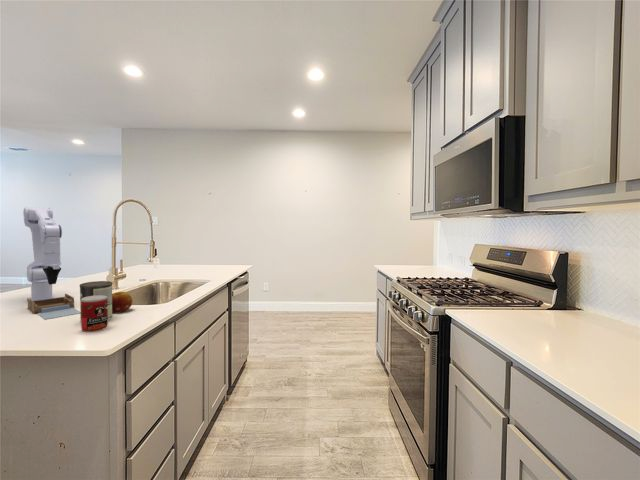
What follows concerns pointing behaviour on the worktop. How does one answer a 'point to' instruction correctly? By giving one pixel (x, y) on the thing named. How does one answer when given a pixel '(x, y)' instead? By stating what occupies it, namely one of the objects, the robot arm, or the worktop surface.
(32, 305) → the box
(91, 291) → the coffee can
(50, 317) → the lid
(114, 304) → the fruit
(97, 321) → the canned food
